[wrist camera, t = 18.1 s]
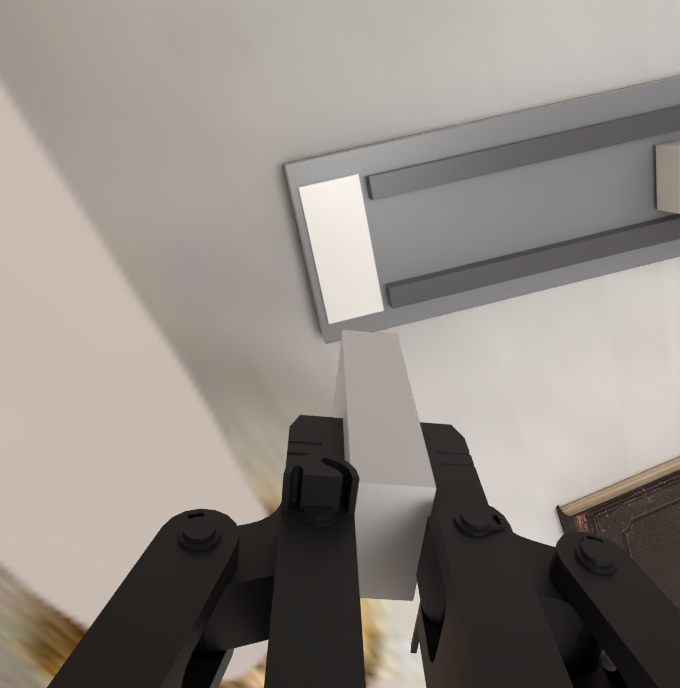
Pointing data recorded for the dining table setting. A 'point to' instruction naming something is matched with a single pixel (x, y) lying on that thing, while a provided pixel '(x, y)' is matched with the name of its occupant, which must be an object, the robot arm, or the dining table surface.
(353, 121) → the dining table surface
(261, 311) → the dining table surface
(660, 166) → the breaker handle
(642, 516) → the hardcover book
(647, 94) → the panel
